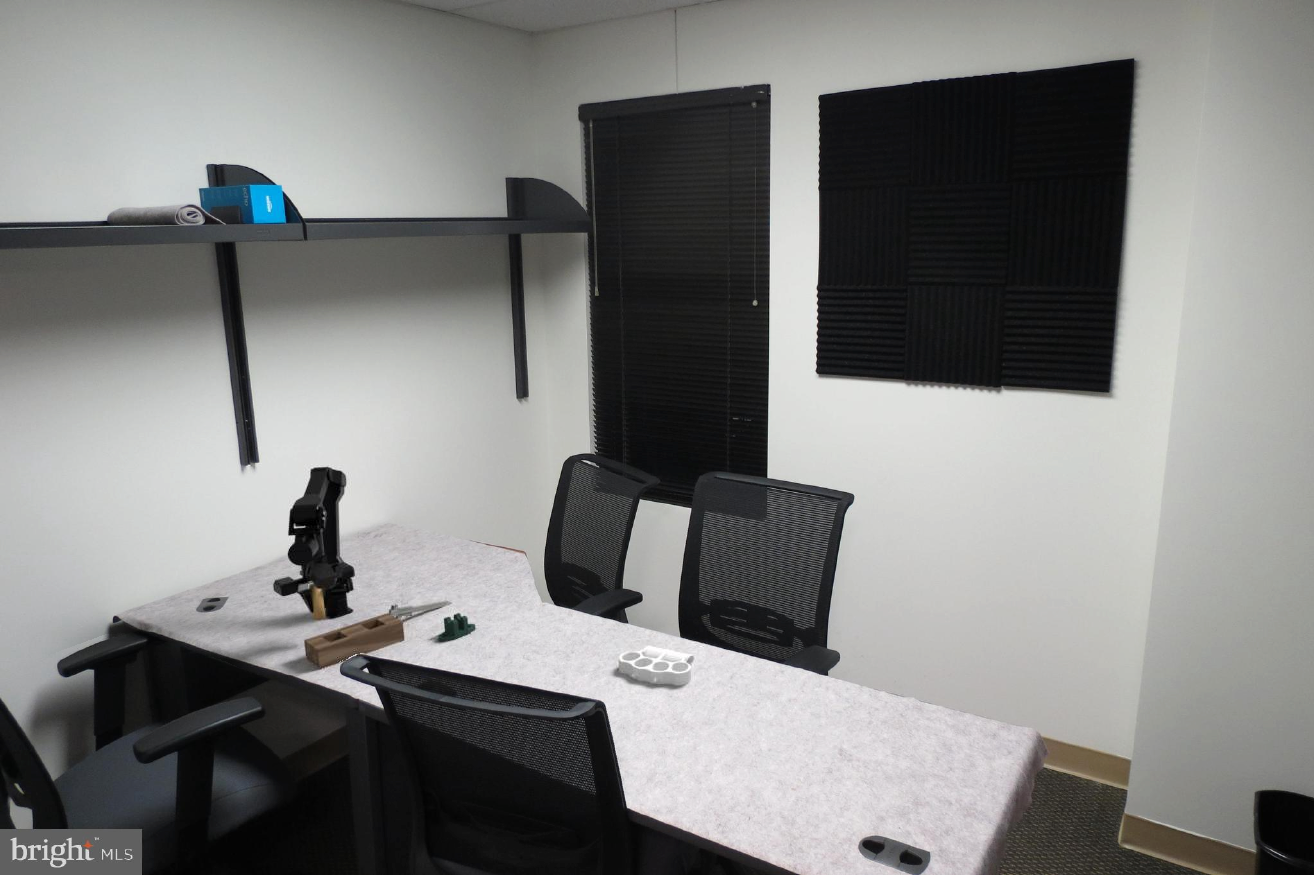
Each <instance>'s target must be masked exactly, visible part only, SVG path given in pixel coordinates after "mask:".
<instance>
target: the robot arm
mask: <svg viewBox="0 0 1314 875" xmlns="http://www.w3.org/2000/svg"><path fill="white" fill-rule="evenodd" d="M309 472H310V473H309V474H310V476H309V480H308V482H307V485H306V488H305V491H304V494H303V496H302V497H299V498H298V499H296V500H295V502H294V503H293V505H292V508H290V510H289V517H288V529H287V530H288V531H287V532H288V533H287V535H288V537H289V536H294V542H293V543H292V544H291V545H290V547H288V550H287V558H288V560H289V561H290V563H292V564H293V565H296V566H300V568H301V570H299V575H300V576H301V577H299V578H296V579H294V578H292V577H290V576H286V577H285V576H284V577H283V578H282V577H281V578H278V579H275V580H274V582H273V584H272V587H273V592H274V593H276V594H277V595H279V596H281V597H287V596H291V595H294V594H298V595H299V596H300V597H301V599H302V600H303V602H304V603H305V606H306V607H307V609H308V610H309V612H310V613H311V614H312V613H313V604H312V598H311V592H312V590H311V589H309V585H310V584H312V583H314V584H315V586H316V588H318V589H322V590H323V599H324V608H325V617H326V616H327V618H330V619H333V618H338V617H341V616H344V615H348V614H350V613H353V612H354V609H353V608H351V607H350V606H349V604H348V594H350V592H352V591H354V581H353V578H354V577H355V576H356V573H355V570H356V569H355V568H354V566H353V565H350V564H348V563H347V562H345V561H344V560H343V558H342V557H341V545H340V544H341V543H340V542H341V540H340V535H341V534H340V514H339V513H340V504H339V503H340V501H341V500H342V498H343V496H344V495H345V491H346V490H345V488H346V487H347V476H346V474H345V473H344V472H343V471H342V470H339V469H338V470H337V469H333V468H332V467H329V466H319V467H313V468H311V469H310V471H309Z"/></svg>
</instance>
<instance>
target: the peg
mask: <svg viewBox="0 0 1314 875" xmlns="http://www.w3.org/2000/svg"><path fill="white" fill-rule="evenodd" d="M308 588H309V589H311V590H312V592H311V598H312V604H313V613H311V615H312V620H313V621H314V622H315V621H322V620H324V619H326V615H325V608H324V599H323V590H322V589H318V588H316V586H315V584H314V583H310V584H308Z"/></svg>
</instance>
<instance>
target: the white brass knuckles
mask: <svg viewBox="0 0 1314 875" xmlns="http://www.w3.org/2000/svg"><path fill="white" fill-rule="evenodd" d="M694 659H695V656H694V655H693V654H691V653H683V652H679V651H674V650H671V649H666V648H665V649H664V648H660V647H655V646H651V645H647V646H645V647H644V648H643V649H642V650H639V651H626V652H623V653H622V654H620V655H619V657H618V671H619V673H621V674H625V675H628V676H630V677H631V678H632V679H634V680H636V681H639V682H648V683H650V684H652V685H673V686H676V687H679V686H685V685H687V684H689V683H690V682H691V681H692V667H691V666H692V665H693V664H694Z"/></svg>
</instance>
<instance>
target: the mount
mask: <svg viewBox="0 0 1314 875" xmlns="http://www.w3.org/2000/svg"><path fill="white" fill-rule="evenodd" d="M461 614H462V613H459V612H458V613H455V614H453V619H452V617H451V616H447V617H444V618H443V625H444V631H442V632H441V633H440V634H438V635H437V642H438V643H447V642H451V641H455V640H459V639H461V638H464V637H466V636H468V634H469V635H470V634H472V633H473V632H474V631H476V624H475V623H469V618H468V616H466V615H461ZM471 632H472V633H471ZM463 636H464V637H463Z"/></svg>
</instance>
